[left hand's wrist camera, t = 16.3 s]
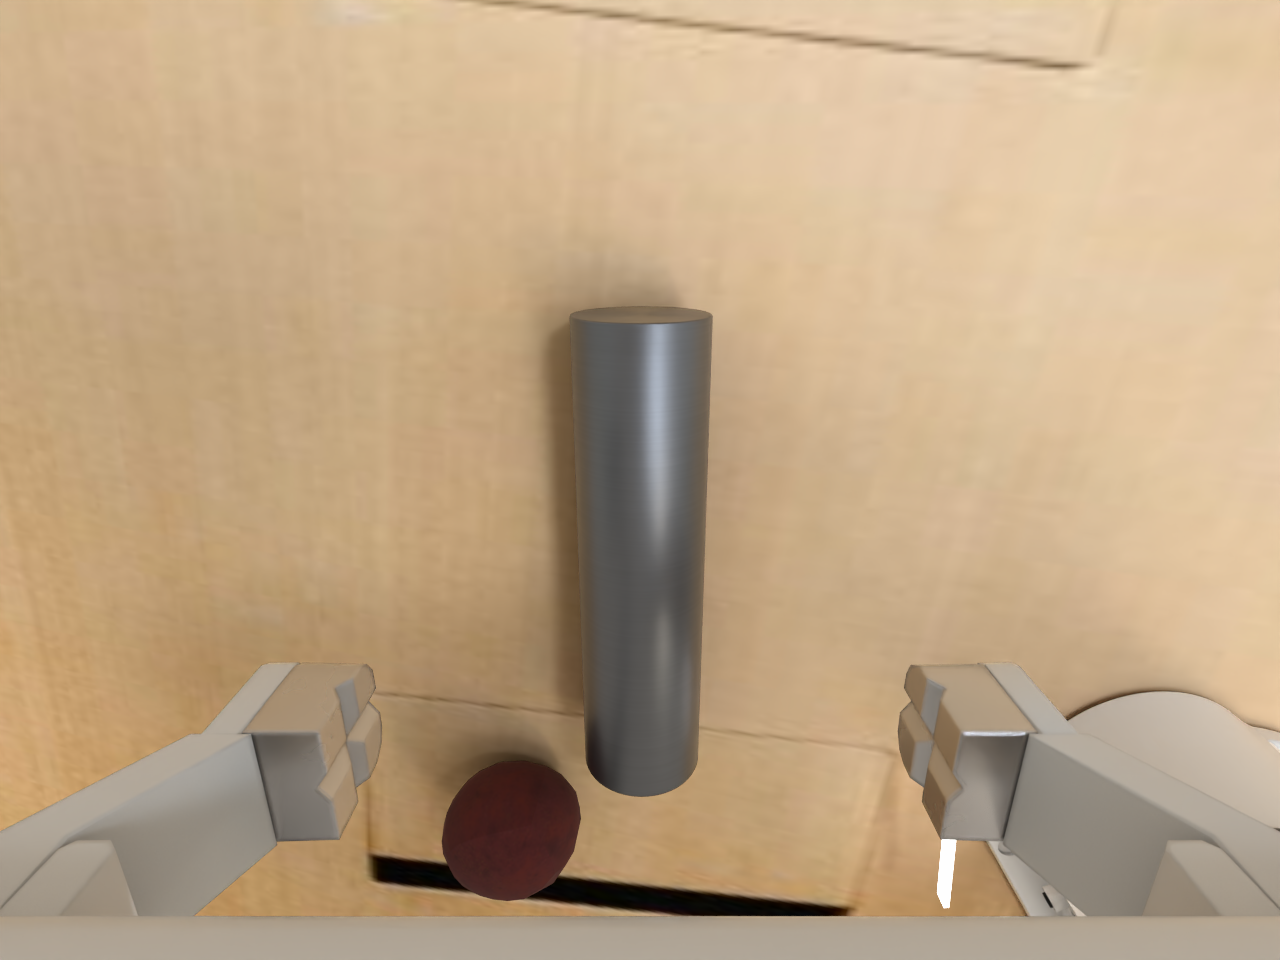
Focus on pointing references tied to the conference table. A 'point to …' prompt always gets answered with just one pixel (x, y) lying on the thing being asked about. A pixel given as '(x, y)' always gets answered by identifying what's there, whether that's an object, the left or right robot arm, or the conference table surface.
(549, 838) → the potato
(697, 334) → the rod
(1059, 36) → the conference table surface
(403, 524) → the conference table surface
